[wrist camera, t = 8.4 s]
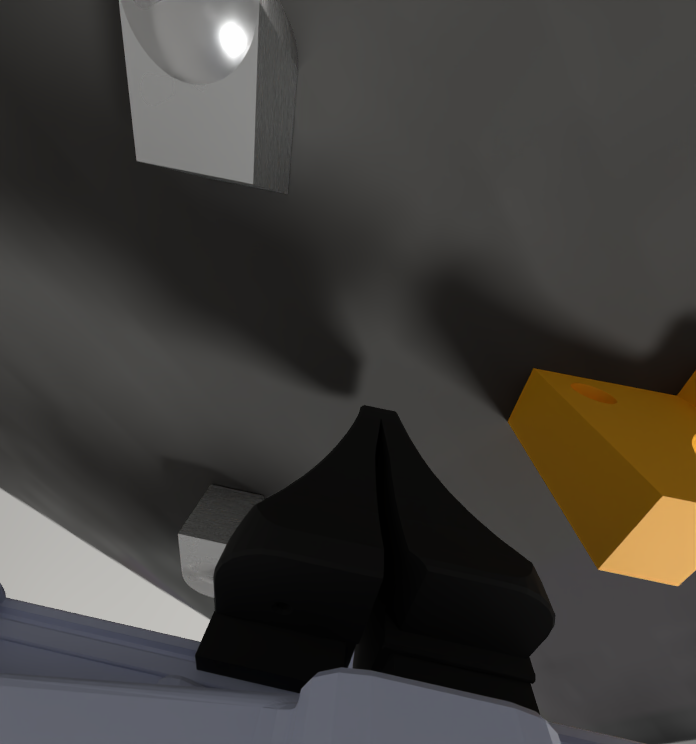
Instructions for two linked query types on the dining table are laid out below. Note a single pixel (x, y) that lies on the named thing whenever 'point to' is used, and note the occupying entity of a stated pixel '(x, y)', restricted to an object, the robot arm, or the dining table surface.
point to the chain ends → (212, 149)
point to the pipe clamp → (617, 469)
